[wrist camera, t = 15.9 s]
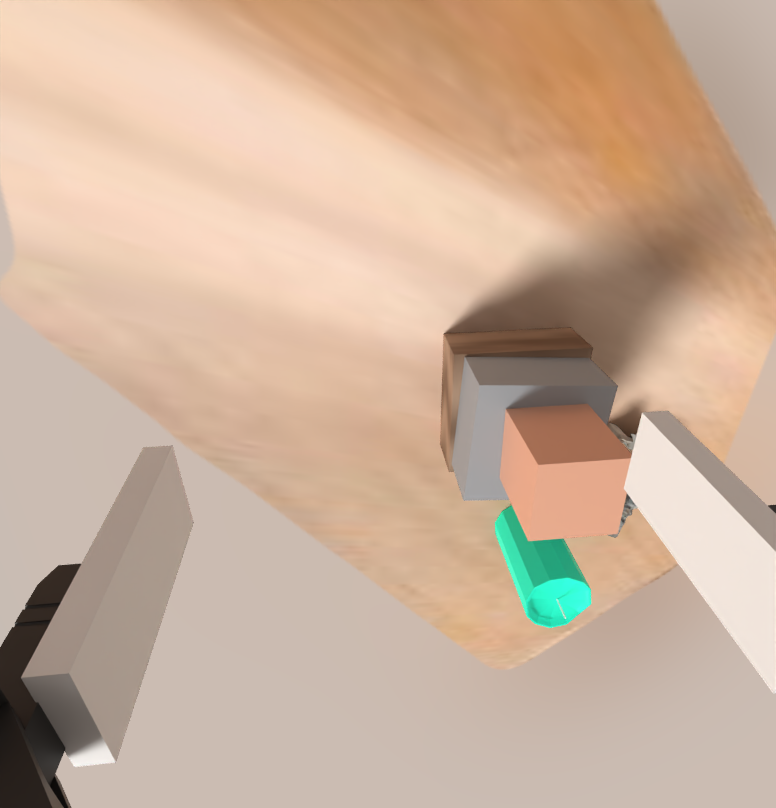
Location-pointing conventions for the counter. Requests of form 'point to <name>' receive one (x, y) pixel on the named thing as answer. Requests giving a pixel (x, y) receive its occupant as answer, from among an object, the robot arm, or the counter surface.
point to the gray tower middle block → (515, 388)
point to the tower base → (496, 345)
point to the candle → (542, 574)
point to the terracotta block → (563, 472)
